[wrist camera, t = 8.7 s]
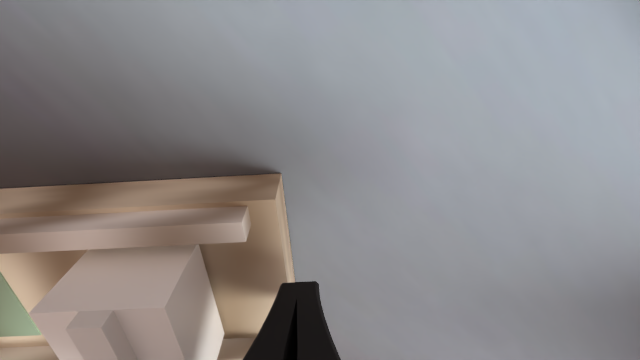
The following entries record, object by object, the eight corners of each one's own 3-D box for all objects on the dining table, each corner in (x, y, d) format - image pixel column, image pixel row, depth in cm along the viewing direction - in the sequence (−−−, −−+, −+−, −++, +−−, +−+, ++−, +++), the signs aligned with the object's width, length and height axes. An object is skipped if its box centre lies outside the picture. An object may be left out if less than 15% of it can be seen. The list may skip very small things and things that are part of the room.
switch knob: (198, 241, 12) (155, 325, 9) (224, 333, 15) (197, 425, 11) (90, 246, 12) (11, 331, 9) (133, 337, 15) (82, 429, 12)
